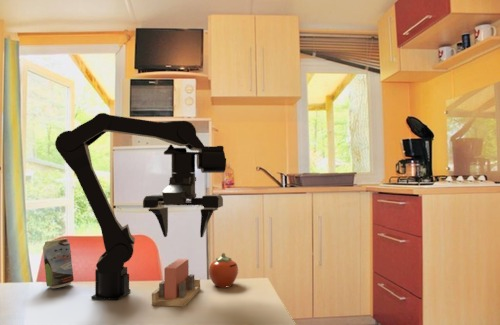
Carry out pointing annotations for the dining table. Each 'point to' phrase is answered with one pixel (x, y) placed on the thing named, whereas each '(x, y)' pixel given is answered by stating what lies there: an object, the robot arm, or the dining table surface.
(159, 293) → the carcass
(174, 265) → the pink rectangular block
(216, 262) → the tomato
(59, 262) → the printed carton
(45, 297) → the dining table surface
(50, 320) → the dining table surface
